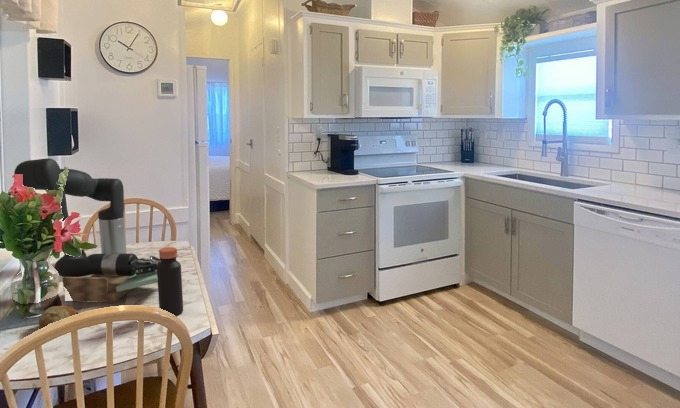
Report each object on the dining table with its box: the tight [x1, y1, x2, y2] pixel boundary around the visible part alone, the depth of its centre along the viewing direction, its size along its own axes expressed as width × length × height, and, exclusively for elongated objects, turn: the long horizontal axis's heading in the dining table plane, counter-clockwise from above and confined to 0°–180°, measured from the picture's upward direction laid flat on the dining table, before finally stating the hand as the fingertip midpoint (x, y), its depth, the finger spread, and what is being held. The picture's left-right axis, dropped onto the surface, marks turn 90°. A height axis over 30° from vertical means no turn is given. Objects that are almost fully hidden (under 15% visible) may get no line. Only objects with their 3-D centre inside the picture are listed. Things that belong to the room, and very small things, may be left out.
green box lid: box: [116, 270, 158, 292], centre depth 157 cm, size 2×16×14 cm
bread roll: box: [38, 305, 79, 329], centre depth 132 cm, size 10×10×8 cm
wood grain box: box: [62, 274, 134, 303], centre depth 158 cm, size 16×19×8 cm
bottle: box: [157, 246, 184, 316], centre depth 140 cm, size 7×7×20 cm
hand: (171, 265), depth 156 cm, fingers closed
